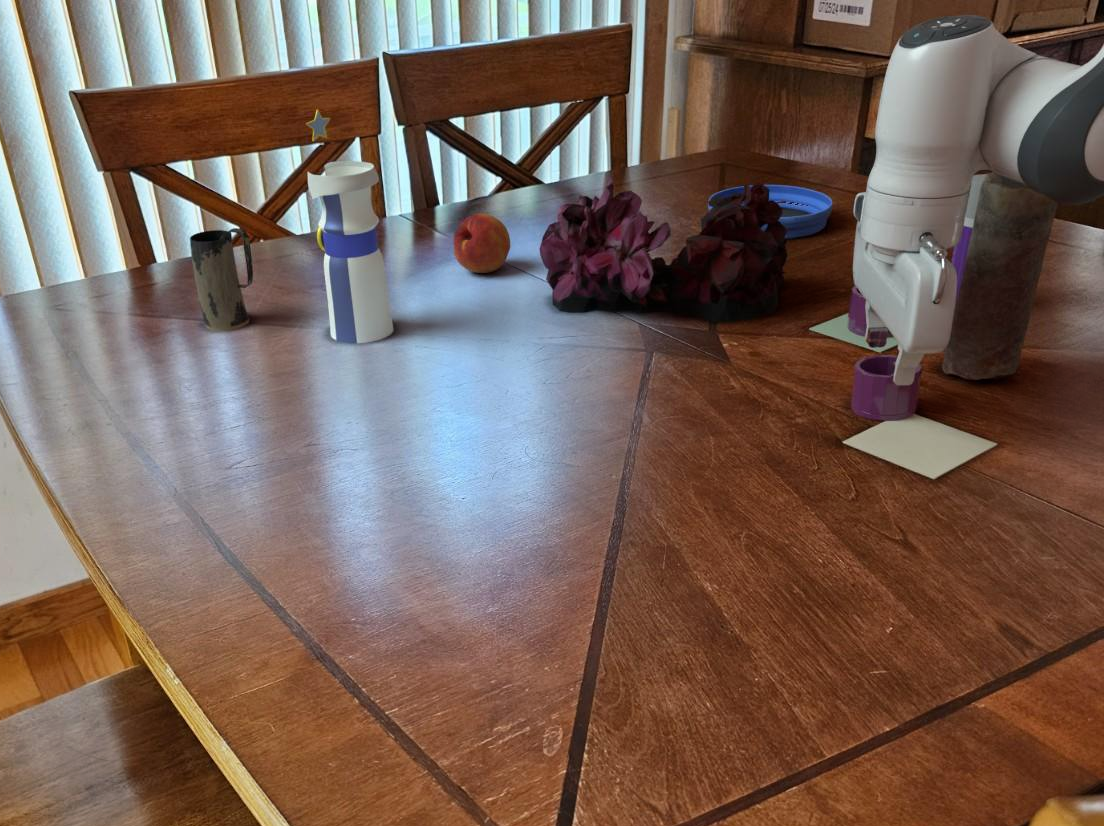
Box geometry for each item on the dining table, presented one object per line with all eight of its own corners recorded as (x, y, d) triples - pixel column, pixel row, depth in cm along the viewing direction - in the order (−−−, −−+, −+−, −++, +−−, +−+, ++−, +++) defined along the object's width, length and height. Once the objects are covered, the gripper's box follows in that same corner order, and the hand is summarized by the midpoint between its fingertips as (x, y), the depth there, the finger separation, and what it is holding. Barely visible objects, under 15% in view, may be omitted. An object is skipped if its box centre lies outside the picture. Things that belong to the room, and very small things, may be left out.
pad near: (997, 446, 103) (997, 443, 102) (934, 481, 98) (934, 478, 98) (905, 413, 109) (906, 410, 109) (842, 444, 104) (842, 441, 104)
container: (962, 317, 130) (988, 186, 122) (934, 305, 134) (958, 177, 125) (992, 310, 132) (1020, 180, 123) (964, 298, 135) (989, 171, 127)
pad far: (933, 331, 127) (934, 328, 127) (880, 354, 122) (881, 351, 122) (862, 309, 134) (862, 307, 133) (808, 330, 129) (809, 328, 128)
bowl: (682, 227, 165) (683, 203, 163) (755, 201, 175) (757, 178, 173) (782, 250, 154) (784, 224, 152) (853, 221, 164) (857, 197, 162)
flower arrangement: (774, 273, 146) (786, 155, 138) (801, 326, 130) (817, 196, 121) (541, 279, 148) (538, 163, 139) (539, 333, 132) (536, 205, 123)
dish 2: (928, 407, 109) (934, 364, 107) (890, 426, 106) (895, 381, 104) (876, 392, 114) (880, 350, 111) (838, 409, 111) (841, 367, 108)
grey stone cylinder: (993, 357, 120) (1036, 165, 109) (1031, 383, 114) (1080, 183, 103) (928, 364, 119) (964, 172, 108) (963, 391, 113) (1005, 190, 102)
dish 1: (913, 328, 127) (920, 290, 125) (880, 342, 124) (886, 303, 121) (868, 315, 131) (874, 277, 129) (835, 328, 128) (841, 290, 126)
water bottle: (312, 341, 132) (279, 120, 118) (350, 317, 139) (323, 105, 125) (370, 350, 129) (344, 123, 115) (406, 325, 136) (385, 108, 122)
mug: (195, 329, 138) (175, 233, 131) (219, 314, 142) (201, 220, 135) (250, 335, 135) (232, 237, 128) (272, 319, 139) (256, 223, 133)
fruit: (446, 268, 154) (442, 210, 149) (499, 259, 156) (497, 202, 151) (465, 284, 147) (461, 224, 143) (520, 275, 150) (518, 215, 145)
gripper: (987, 252, 91) (954, 406, 99) (915, 189, 108) (891, 325, 116) (910, 254, 91) (883, 408, 99) (850, 191, 108) (831, 327, 116)
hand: (887, 363), depth 107 cm, fingers open, 8 cm apart
